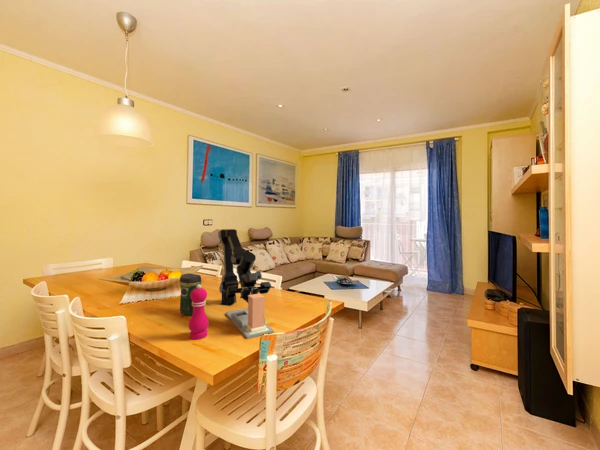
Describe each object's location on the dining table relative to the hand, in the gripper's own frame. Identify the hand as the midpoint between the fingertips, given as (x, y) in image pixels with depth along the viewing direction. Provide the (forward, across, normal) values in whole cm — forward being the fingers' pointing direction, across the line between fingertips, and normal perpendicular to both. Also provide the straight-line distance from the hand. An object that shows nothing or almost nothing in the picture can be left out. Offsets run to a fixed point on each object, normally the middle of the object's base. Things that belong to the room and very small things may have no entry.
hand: (253, 307), depth 111 cm
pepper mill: (+4, -21, +9) cm, 23 cm away
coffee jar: (-16, -20, +29) cm, 38 cm away
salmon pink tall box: (+7, 0, +3) cm, 8 cm away
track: (+1, 0, +11) cm, 11 cm away
